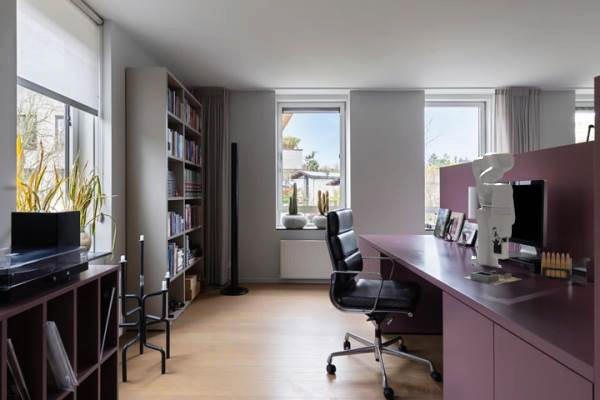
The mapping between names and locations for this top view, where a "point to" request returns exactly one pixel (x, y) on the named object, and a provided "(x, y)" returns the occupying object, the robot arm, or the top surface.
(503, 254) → the plug
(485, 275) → the frame
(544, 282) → the top surface
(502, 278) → the board
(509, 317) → the top surface
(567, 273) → the ammunition clip
